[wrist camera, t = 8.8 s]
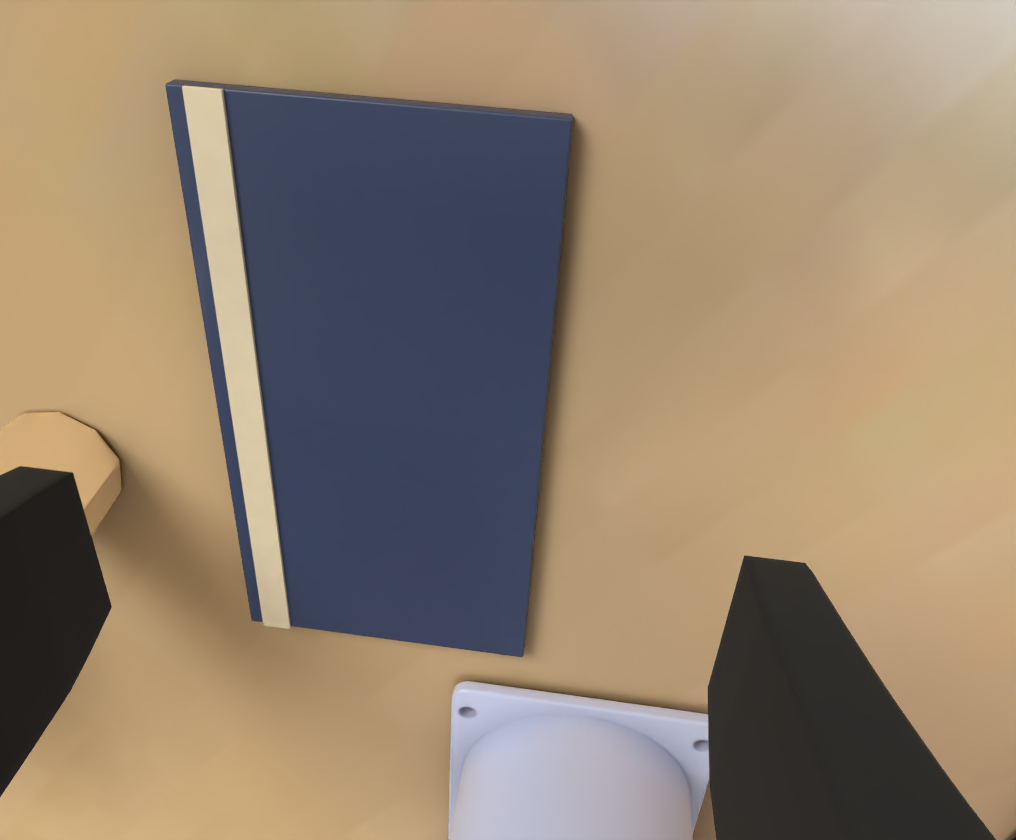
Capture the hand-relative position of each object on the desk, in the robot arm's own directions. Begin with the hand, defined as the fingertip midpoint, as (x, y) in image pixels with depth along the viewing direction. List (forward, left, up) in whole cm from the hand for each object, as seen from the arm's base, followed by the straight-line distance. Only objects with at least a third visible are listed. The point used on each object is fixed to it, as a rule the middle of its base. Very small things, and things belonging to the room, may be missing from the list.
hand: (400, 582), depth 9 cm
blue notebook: (-5, +3, -10) cm, 12 cm away
